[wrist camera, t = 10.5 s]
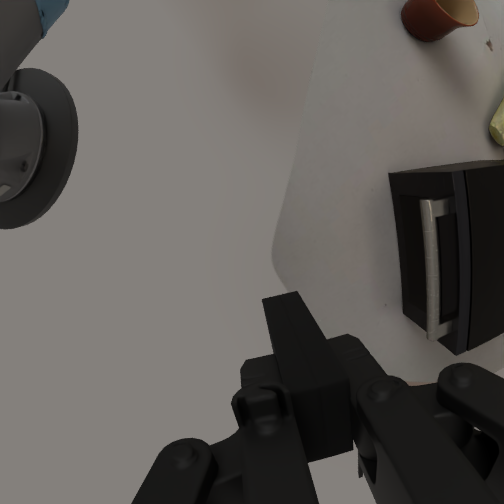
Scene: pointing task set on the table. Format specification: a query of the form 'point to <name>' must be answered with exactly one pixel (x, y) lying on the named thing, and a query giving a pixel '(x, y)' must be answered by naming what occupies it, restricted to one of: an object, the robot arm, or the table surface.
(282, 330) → the robot arm
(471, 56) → the table surface
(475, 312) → the oven
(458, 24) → the mug
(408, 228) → the oven door
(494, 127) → the lettuce
